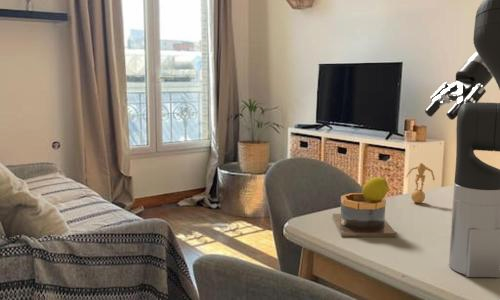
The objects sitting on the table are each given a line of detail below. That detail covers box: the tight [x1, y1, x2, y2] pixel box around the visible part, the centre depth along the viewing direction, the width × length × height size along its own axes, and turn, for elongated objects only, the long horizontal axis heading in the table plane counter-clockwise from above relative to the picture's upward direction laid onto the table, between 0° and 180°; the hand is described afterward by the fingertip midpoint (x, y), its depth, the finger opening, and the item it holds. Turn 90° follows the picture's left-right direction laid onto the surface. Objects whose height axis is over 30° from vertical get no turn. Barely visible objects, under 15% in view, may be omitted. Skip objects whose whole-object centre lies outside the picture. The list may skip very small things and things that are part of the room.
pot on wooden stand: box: [331, 192, 397, 238], centre depth 126 cm, size 16×13×8 cm
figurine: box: [405, 162, 435, 204], centre depth 149 cm, size 8×6×12 cm
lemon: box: [361, 176, 389, 202], centre depth 123 cm, size 6×6×8 cm
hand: (438, 115), depth 125 cm, fingers open, 8 cm apart
